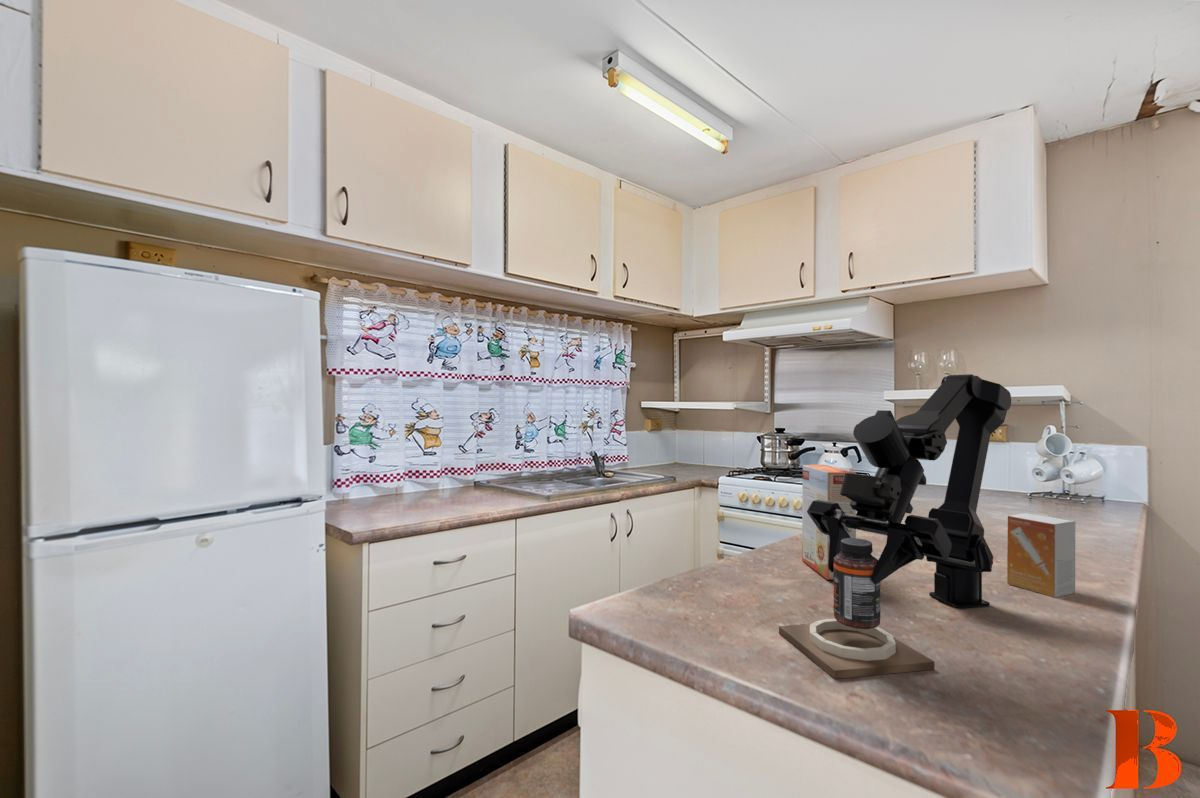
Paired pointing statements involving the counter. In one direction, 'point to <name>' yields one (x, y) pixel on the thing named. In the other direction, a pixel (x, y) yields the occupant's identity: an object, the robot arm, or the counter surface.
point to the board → (846, 667)
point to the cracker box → (815, 544)
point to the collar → (852, 652)
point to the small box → (1041, 554)
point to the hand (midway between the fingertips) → (851, 576)
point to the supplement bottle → (856, 585)
